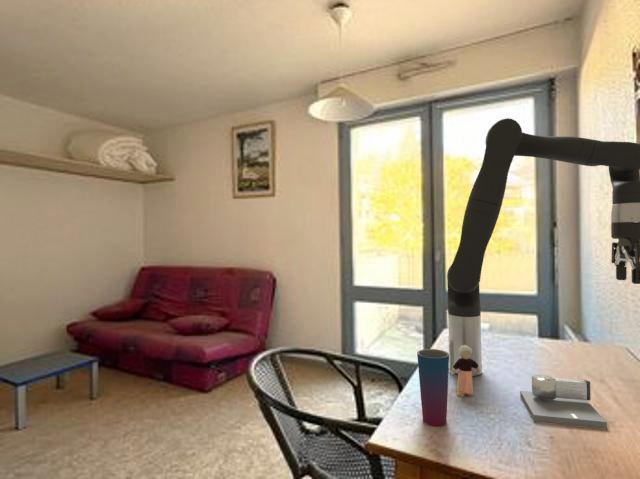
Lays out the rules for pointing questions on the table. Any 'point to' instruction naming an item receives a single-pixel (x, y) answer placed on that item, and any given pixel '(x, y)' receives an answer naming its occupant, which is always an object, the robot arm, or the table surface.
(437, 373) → the cup
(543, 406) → the base
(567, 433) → the table surface
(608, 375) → the table surface
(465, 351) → the grandmother figurine
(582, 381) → the lever
